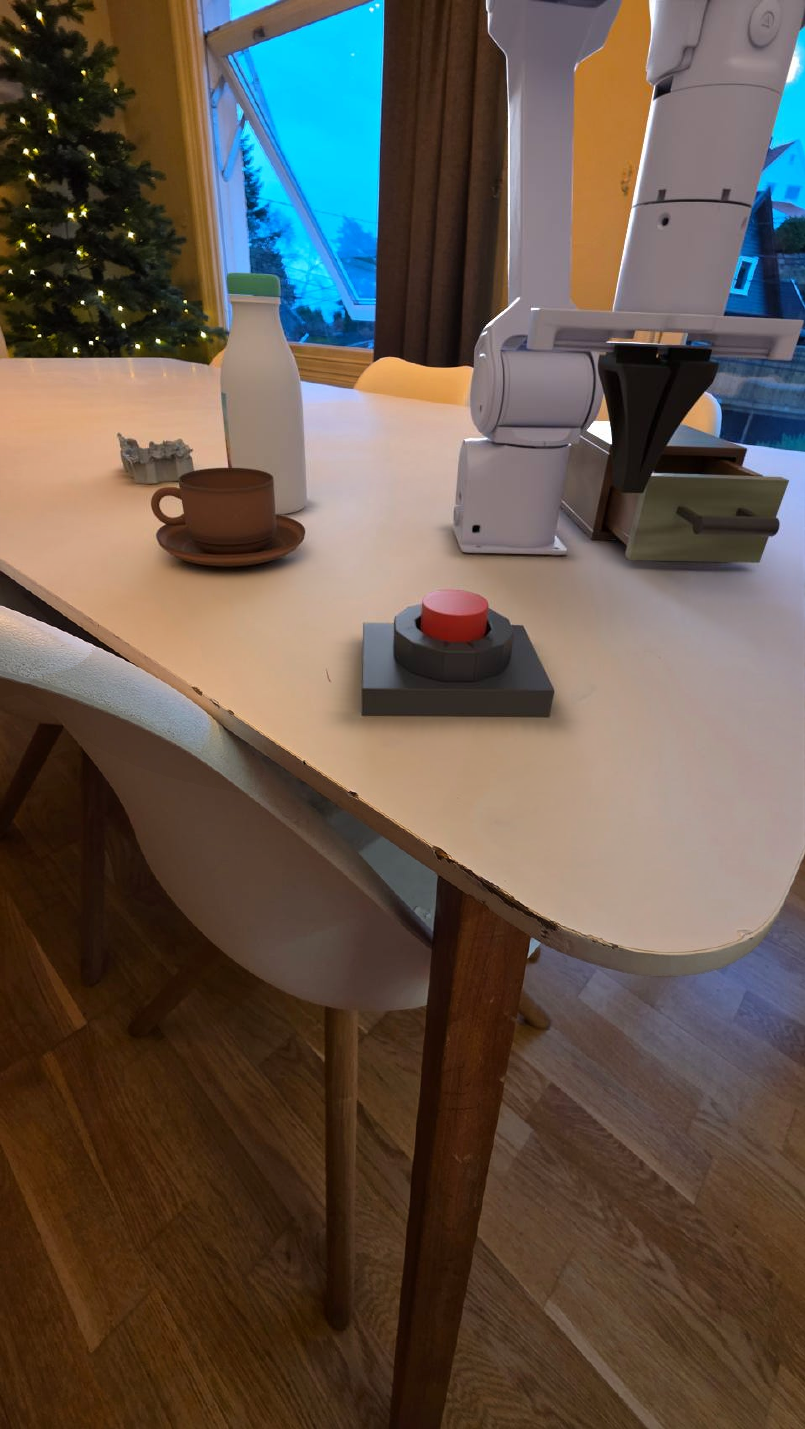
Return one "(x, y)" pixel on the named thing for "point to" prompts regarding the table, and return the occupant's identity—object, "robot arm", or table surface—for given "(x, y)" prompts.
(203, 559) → the cup and saucer
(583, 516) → the cabinet
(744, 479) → the drawer
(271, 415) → the milk bottle
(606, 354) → the robot arm
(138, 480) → the egg carton
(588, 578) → the table surface
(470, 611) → the button
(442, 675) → the control block
